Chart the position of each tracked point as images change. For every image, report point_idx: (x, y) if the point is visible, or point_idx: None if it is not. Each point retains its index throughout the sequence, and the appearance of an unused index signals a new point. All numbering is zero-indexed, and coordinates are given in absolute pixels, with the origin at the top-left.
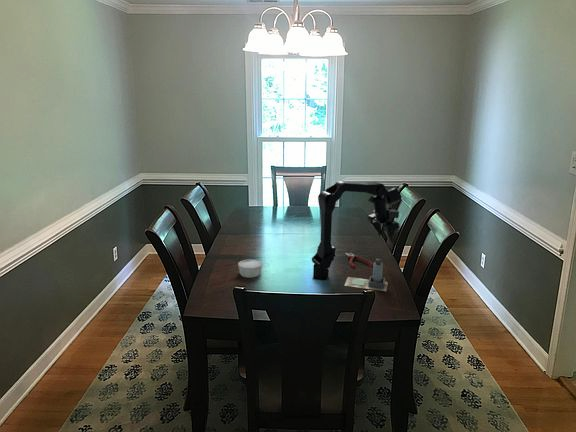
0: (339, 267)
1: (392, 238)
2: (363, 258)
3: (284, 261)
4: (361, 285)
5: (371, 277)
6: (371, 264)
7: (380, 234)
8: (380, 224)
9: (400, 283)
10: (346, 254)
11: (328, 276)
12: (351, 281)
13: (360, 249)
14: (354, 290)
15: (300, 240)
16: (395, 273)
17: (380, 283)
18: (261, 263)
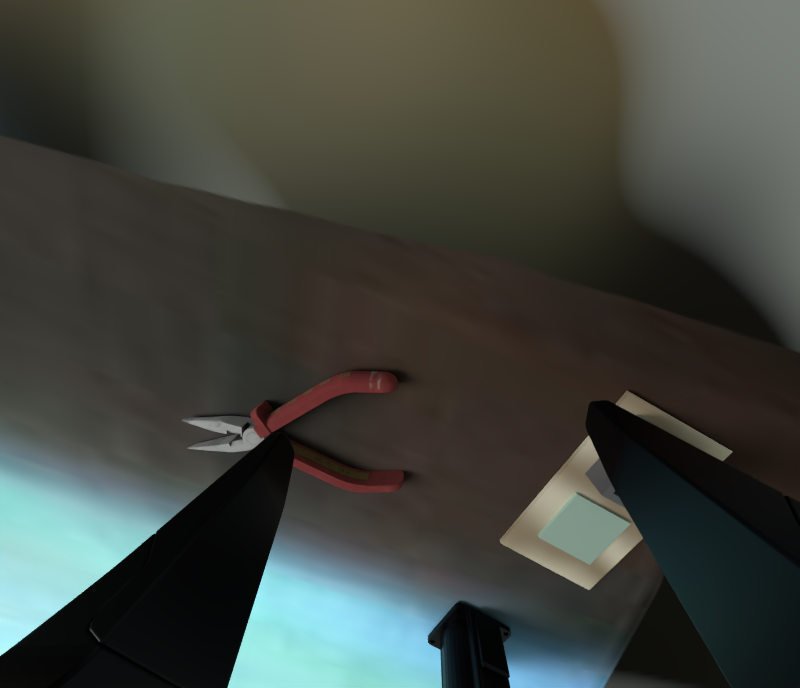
0: (369, 527)
1: (652, 426)
2: (305, 405)
3: (274, 682)
4: (620, 530)
5: (609, 489)
6: (391, 390)
7: (285, 449)
8: (99, 657)
9: (662, 324)
10: (213, 449)
11: (491, 624)
12: (557, 549)
13: (113, 330)
14: (643, 565)
15: (13, 562)
16: (515, 285)
17: None
18: None
